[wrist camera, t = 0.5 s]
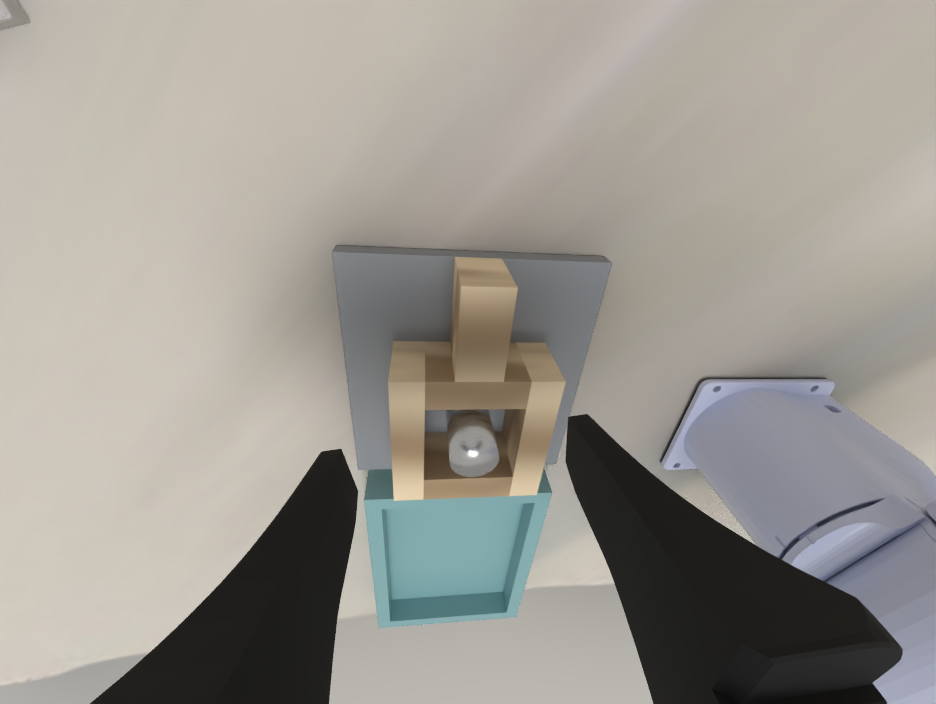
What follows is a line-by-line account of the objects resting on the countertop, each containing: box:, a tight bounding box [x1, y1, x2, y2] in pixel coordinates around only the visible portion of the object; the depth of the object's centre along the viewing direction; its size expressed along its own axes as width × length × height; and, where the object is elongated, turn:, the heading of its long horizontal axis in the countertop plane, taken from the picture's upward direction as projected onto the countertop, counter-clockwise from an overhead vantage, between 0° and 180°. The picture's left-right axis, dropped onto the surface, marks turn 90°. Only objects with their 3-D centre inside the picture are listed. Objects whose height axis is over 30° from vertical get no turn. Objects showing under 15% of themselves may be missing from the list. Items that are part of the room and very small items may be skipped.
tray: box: [364, 469, 552, 628], centre depth 30 cm, size 12×17×2 cm
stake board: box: [332, 245, 612, 477], centre depth 20 cm, size 14×13×5 cm
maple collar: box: [388, 257, 566, 501], centre depth 19 cm, size 12×8×4 cm, turn 176°
